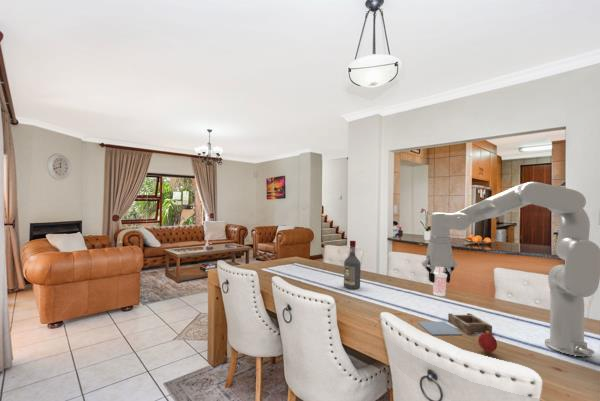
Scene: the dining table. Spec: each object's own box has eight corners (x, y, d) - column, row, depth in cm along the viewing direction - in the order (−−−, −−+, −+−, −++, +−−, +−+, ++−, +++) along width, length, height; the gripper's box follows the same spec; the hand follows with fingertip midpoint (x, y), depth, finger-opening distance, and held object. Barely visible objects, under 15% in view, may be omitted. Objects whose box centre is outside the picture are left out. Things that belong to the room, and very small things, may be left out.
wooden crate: (492, 334, 121) (492, 325, 121) (467, 334, 121) (467, 325, 121) (470, 321, 135) (470, 313, 135) (448, 321, 135) (448, 313, 135)
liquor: (350, 284, 194) (351, 239, 194) (361, 287, 187) (362, 241, 187) (341, 286, 188) (342, 240, 188) (352, 290, 181) (353, 242, 181)
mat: (462, 335, 120) (462, 334, 120) (432, 335, 119) (432, 334, 119) (444, 322, 133) (444, 321, 133) (417, 322, 132) (417, 321, 132)
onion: (479, 347, 110) (479, 326, 110) (497, 352, 106) (497, 330, 106) (476, 353, 105) (477, 330, 105) (496, 358, 101) (496, 335, 102)
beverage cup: (428, 293, 128) (428, 261, 128) (438, 291, 130) (439, 260, 131) (439, 297, 122) (439, 263, 123) (450, 295, 125) (450, 263, 125)
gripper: (453, 239, 131) (453, 279, 131) (416, 239, 130) (416, 279, 130) (464, 242, 124) (463, 284, 123) (425, 241, 122) (424, 284, 122)
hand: (439, 281), depth 126 cm, fingers closed on beverage cup, 6 cm apart
